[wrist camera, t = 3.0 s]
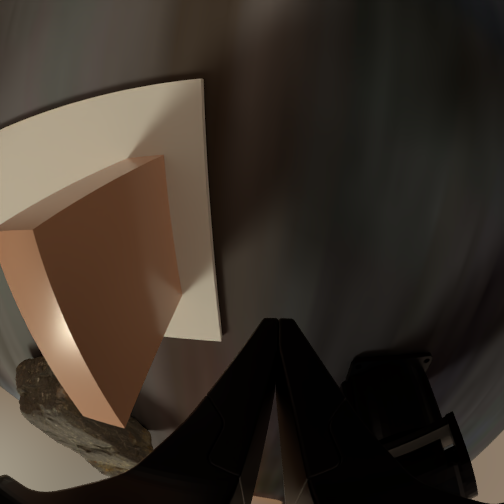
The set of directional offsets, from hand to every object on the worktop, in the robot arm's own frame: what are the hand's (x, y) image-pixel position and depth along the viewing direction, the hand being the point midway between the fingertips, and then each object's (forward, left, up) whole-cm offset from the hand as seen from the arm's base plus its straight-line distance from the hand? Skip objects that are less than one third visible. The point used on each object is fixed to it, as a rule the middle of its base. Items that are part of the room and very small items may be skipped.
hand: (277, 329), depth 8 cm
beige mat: (+12, 0, -8) cm, 14 cm away
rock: (+19, +19, -8) cm, 28 cm away
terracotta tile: (+6, 0, -7) cm, 9 cm away
